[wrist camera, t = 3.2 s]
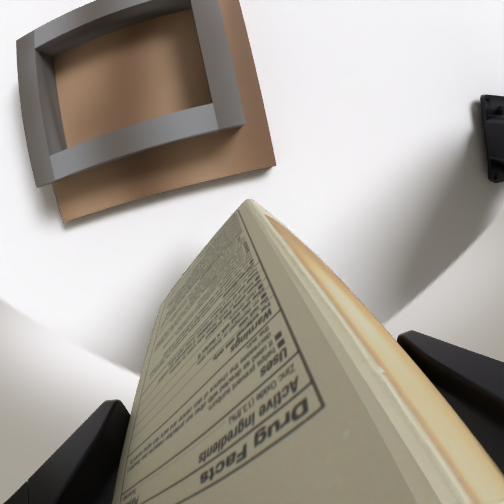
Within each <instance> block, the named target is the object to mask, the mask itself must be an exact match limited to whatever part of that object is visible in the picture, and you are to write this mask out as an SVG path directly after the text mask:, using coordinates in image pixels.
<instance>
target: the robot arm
mask: <svg viewBox="0 0 504 504" xmlns="http://www.w3.org/2000/svg"><path fill="white" fill-rule="evenodd" d="M480 102H481V108H482V115H483V122H484V130H485V139H486V150H487V163H488V178H489V181H490V182H493V183H498V182H503V181H504V97H503V96H495V95H482V96H481V98H480ZM397 343H398V344H399V345H400V346H401V347H402V348H403V349H404V351H405V352H406V353H407V354H408V355H409V356H410V358H411V359H412V360H413V361H414V362H415V363H416V364H417V366H418V367H419V368H420V369H421V370H422V371H423V373H424V374H425V375H426V376H427V377H428V379H429V380H430V381H431V382H432V383H433V385H434V386H435V387H436V388H437V390H438V391H439V392H440V393H441V394H442V396H443V397H444V398H445V399H446V401H447V402H448V403H449V404H450V406H451V407H452V408H453V409H454V410H455V412H456V413H457V414H458V416H459V417H460V418H461V419H462V421H463V422H464V423H465V424H466V426H467V427H468V428H469V429H470V431H471V432H472V433H473V435H474V436H475V437H476V439H477V440H478V441H479V442H480V444H481V445H482V446H483V448H484V449H485V450H486V452H487V453H488V454H489V455H490V457H491V458H492V459H493V461H494V462H495V463H496V465H497V466H498V467H499V469H500V470H501V471H502V473H503V474H504V362H501V361H498V360H495V359H492V358H489V357H487V356H484V355H481V354H478V353H475V352H472V351H469V350H467V349H464V348H461V347H458V346H455V345H452V344H449V343H447V342H444V341H441V340H438V339H436V338H433V337H430V336H427V335H424V334H421V333H419V332H416V331H412V330H411V331H408V332H405V333H402V334H400V335H399V336H398V338H397ZM130 416H131V415H130V414H129V412H128V411H127V409H126V408H125V406H124V405H123V403H122V402H121V401H120V400H107V401H105V402H103V403H102V404H101V405H100V406H99V408H98V409H97V410H96V411H95V412H94V413H93V414H92V415H91V416H90V417H89V418H88V419H87V420H86V421H85V422H84V423H83V424H82V425H81V426H80V427H79V428H78V429H77V430H76V431H75V432H74V433H73V434H72V435H71V436H70V437H69V438H68V439H67V440H66V442H64V444H62V445H61V446H60V447H59V449H57V450H56V452H55V453H54V454H53V455H52V456H51V457H50V458H49V459H48V460H47V461H46V462H45V463H44V464H43V465H42V466H41V467H40V468H39V469H38V470H37V471H36V472H35V473H34V474H33V475H32V476H31V477H30V478H29V479H28V482H25V483H24V484H23V485H22V486H21V487H20V488H19V489H18V490H17V491H16V492H15V493H14V494H13V495H12V496H11V497H10V498H9V499H8V500H7V501H6V502H5V503H4V504H112V501H113V496H114V490H115V485H116V479H117V474H118V469H119V464H120V459H121V455H122V450H123V445H124V441H125V437H126V432H127V428H128V424H129V420H130Z"/></svg>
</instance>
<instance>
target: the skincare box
mask: <svg viewBox="0 0 504 504" xmlns="http://www.w3.org/2000/svg"><path fill="white" fill-rule="evenodd" d="M112 504H504V474H503V473H502V471H501V470H500V469H499V467H498V466H497V465H496V463H495V462H494V461H493V459H492V458H491V457H490V455H489V454H488V453H487V452H486V450H485V449H484V448H483V446H482V445H481V444H480V442H479V441H478V440H477V439H476V437H475V436H474V435H473V433H472V432H471V431H470V429H469V428H468V427H467V426H466V424H465V423H464V422H463V421H462V419H461V418H460V417H459V416H458V414H457V413H456V412H455V410H454V409H453V408H452V407H451V406H450V404H449V403H448V402H447V401H446V399H445V398H444V397H443V396H442V394H441V393H440V392H439V391H438V390H437V388H436V387H435V386H434V385H433V383H432V382H431V381H430V380H429V379H428V377H427V376H426V375H425V374H424V373H423V371H422V370H421V369H420V368H419V367H418V366H417V364H416V363H415V362H414V361H413V360H412V359H411V358H410V356H409V355H408V354H407V353H406V352H405V351H404V349H403V348H402V347H401V346H400V345H399V344H398V343H397V341H396V340H395V339H394V338H393V337H392V336H391V335H390V333H389V332H388V331H387V330H386V329H385V328H384V327H383V326H382V324H381V323H380V322H379V321H378V320H377V319H376V318H375V317H374V316H373V315H372V313H371V312H370V311H369V310H368V309H367V308H366V307H365V306H364V305H363V303H362V302H361V301H360V300H359V299H358V298H357V297H356V296H355V295H354V294H353V292H352V291H351V290H350V289H349V288H348V287H347V286H346V285H345V284H344V283H343V282H342V280H341V279H340V278H339V277H338V276H337V275H336V274H335V273H334V272H333V271H332V270H331V269H330V268H329V267H328V266H327V265H326V263H325V262H324V261H323V260H322V259H321V258H320V257H319V256H318V255H317V254H315V253H314V252H313V251H312V250H311V249H310V248H309V247H308V246H307V245H306V244H305V243H304V242H302V241H301V240H300V239H299V238H298V237H297V236H296V235H295V234H294V233H292V232H291V231H290V230H289V229H288V228H287V227H286V226H285V225H283V224H282V223H281V222H280V221H279V220H278V219H276V218H275V217H274V216H273V215H272V214H270V213H269V212H268V211H267V210H266V209H264V208H263V207H262V206H261V205H259V204H258V203H257V202H256V201H254V200H252V199H247V200H245V201H244V202H243V203H242V204H241V206H240V207H239V208H238V209H237V210H236V211H235V212H234V213H233V214H232V215H231V217H230V218H229V219H228V220H227V221H226V222H225V224H224V225H223V226H222V227H221V228H220V229H219V231H218V232H217V233H216V234H215V235H214V236H213V238H212V239H211V240H210V241H209V242H208V244H207V245H206V246H205V247H204V249H203V250H202V251H201V252H200V254H199V255H198V256H197V257H196V259H195V260H194V261H193V263H192V264H191V265H190V266H189V268H188V269H187V270H186V271H185V273H184V274H183V275H182V277H181V278H180V279H179V281H178V282H177V283H176V285H175V286H174V287H173V289H172V290H171V292H170V293H169V295H168V296H167V297H166V299H165V300H164V301H163V303H162V305H161V307H160V310H159V313H158V316H157V320H156V323H155V326H154V329H153V333H152V336H151V340H150V344H149V347H148V351H147V354H146V358H145V361H144V365H143V369H142V372H141V376H140V380H139V384H138V388H137V391H136V396H135V399H134V403H133V407H132V411H131V416H130V420H129V424H128V428H127V432H126V437H125V441H124V445H123V450H122V455H121V459H120V464H119V469H118V474H117V479H116V485H115V490H114V496H113V501H112Z"/></svg>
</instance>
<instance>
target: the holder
mask: <svg viewBox="0 0 504 504" xmlns="http://www.w3.org/2000/svg"><path fill="white" fill-rule="evenodd" d="M16 49H17V70H18V82H19V93H20V102H21V109H22V117H23V123H24V129H25V135H26V141H27V146H28V151H29V156H30V161H31V165H32V170H33V174H34V178H35V182H36V186H37V188H38V187H41V186H44V185H48V184H51V183H52V184H53V188H54V192H55V196H56V199H57V203H58V206H59V210H60V213H61V216H62V220H63V223H64V222H67V221H70V220H73V219H76V218H79V217H82V216H85V215H88V214H91V213H94V212H97V211H100V210H104V209H107V208H110V207H113V206H117V205H120V204H123V203H127V202H130V201H133V200H137V199H140V198H144V197H147V196H151V195H155V194H158V193H162V192H166V191H169V190H173V189H177V188H181V187H185V186H189V185H193V184H197V183H201V182H205V181H209V180H213V179H217V178H222V177H226V176H230V175H235V174H239V173H244V172H248V171H253V170H258V169H263V168H268V167H273V166H276V162H275V156H274V152H273V147H272V142H271V137H270V132H269V127H268V123H267V118H266V113H265V109H264V104H263V99H262V95H261V90H260V86H259V81H258V77H257V73H256V68H255V64H254V60H253V56H252V51H251V47H250V43H249V39H248V35H247V31H246V27H245V23H244V19H243V15H242V11H241V7H240V3H239V0H96V1H93V2H91V3H89V4H86V5H84V6H82V7H79V8H77V9H75V10H73V11H71V12H68V13H66V14H64V15H62V16H60V17H58V18H56V19H54V20H52V21H50V22H48V23H46V24H44V25H43V26H41V27H39V28H37V29H35V30H34V31H32V32H30V33H28V34H27V35H25V36H23V37H22V38H20V39H18V40H17V41H16Z"/></svg>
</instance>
